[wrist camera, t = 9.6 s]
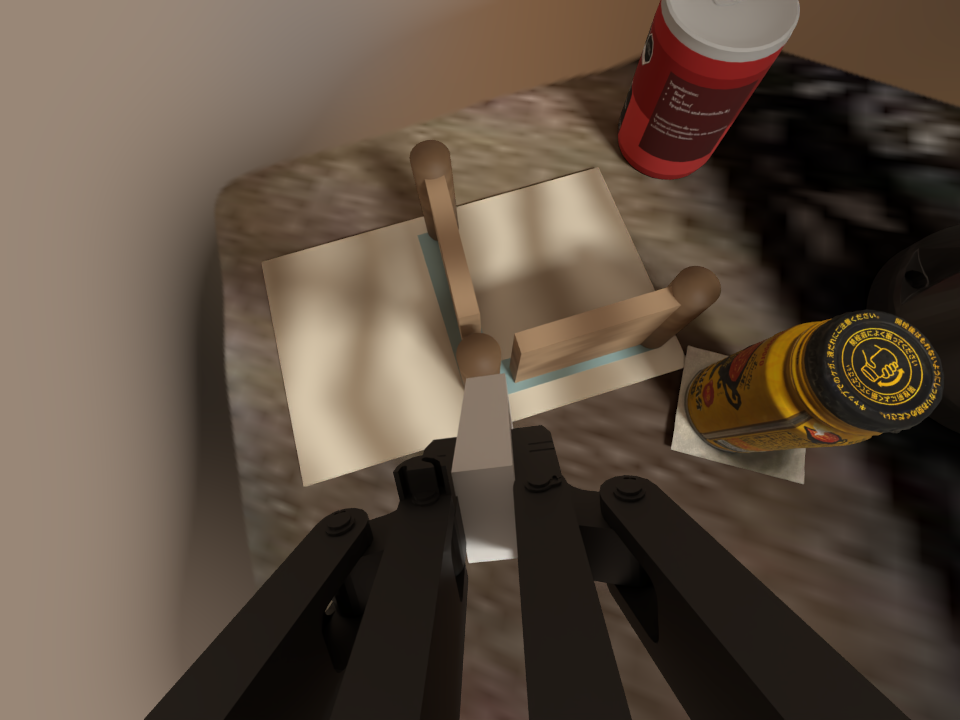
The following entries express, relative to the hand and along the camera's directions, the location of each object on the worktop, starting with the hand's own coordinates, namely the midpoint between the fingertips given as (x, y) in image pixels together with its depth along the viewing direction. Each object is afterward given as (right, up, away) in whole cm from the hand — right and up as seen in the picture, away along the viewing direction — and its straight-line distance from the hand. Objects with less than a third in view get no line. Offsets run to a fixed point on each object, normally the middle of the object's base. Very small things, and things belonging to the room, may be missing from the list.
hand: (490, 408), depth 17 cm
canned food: (+14, +20, +19) cm, 31 cm away
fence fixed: (+6, +2, +14) cm, 15 cm away
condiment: (+17, -2, +13) cm, 21 cm away
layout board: (-1, +5, +15) cm, 16 cm away
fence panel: (-2, +8, +15) cm, 17 cm away
